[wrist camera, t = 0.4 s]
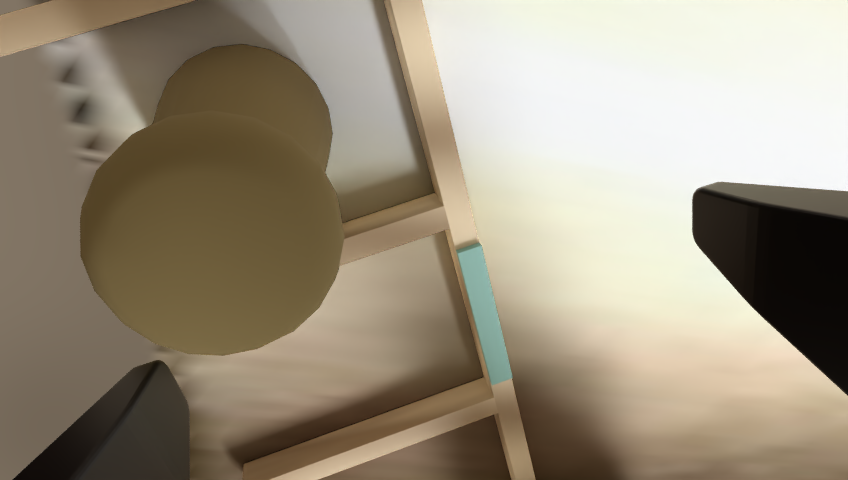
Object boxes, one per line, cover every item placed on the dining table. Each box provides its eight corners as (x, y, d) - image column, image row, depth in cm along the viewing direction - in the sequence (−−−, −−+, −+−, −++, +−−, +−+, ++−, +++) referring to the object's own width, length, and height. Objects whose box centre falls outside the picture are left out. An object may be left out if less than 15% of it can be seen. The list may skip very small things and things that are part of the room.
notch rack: (538, 513, 32) (551, 541, 31) (321, 597, 31) (323, 630, 30) (390, -92, 18) (400, -99, 17) (-13, 22, 17) (-44, 26, 16)
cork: (272, 238, 22) (260, 442, 12) (122, 150, 20) (-42, 317, 10) (365, 115, 21) (433, 232, 11) (218, 4, 18) (139, 30, 9)
